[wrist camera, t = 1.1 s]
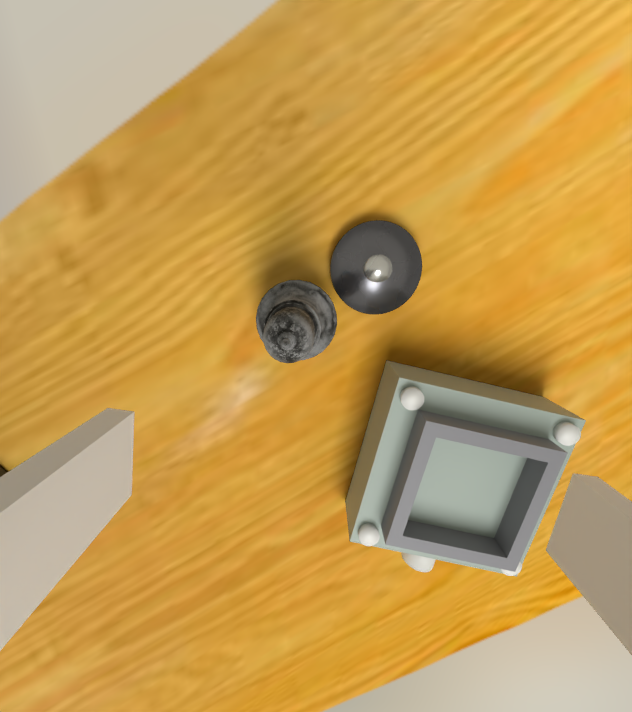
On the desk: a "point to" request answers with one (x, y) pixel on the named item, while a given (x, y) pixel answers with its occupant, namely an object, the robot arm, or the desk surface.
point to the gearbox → (457, 470)
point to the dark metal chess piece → (296, 321)
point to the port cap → (376, 267)
